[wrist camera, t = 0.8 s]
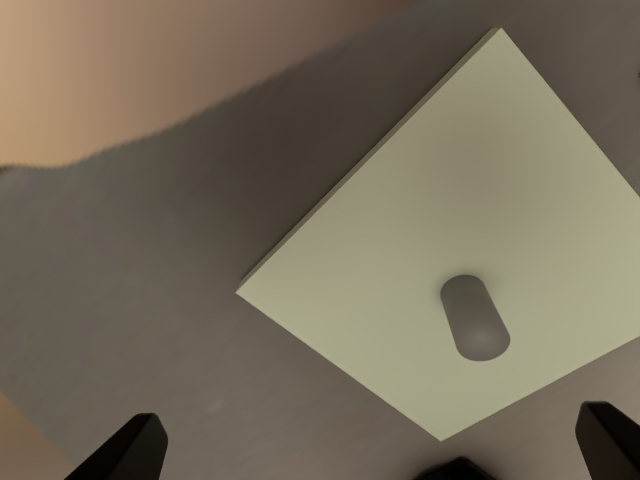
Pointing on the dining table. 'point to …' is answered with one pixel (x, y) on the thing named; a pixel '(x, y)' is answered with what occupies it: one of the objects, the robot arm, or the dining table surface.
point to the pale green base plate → (465, 250)
